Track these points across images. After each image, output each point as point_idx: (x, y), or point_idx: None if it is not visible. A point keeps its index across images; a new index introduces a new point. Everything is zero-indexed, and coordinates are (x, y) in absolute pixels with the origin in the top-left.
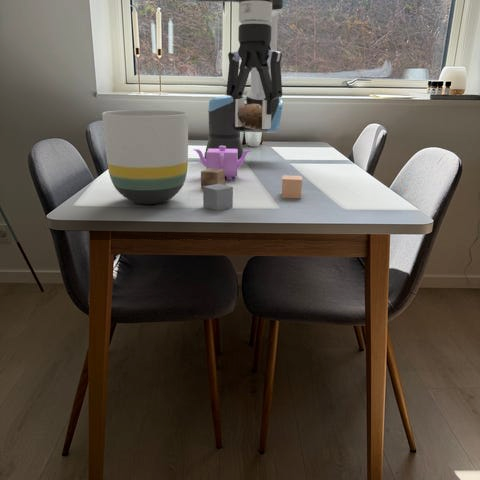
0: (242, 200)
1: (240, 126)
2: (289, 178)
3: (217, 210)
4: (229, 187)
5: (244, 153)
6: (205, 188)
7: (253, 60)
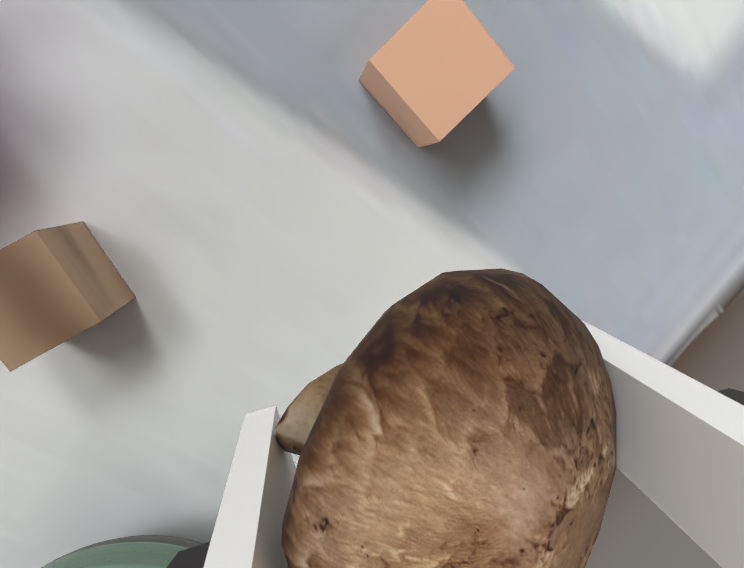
0: (352, 316)
1: (292, 460)
2: (451, 97)
3: None
4: None
5: None
6: None
7: None
